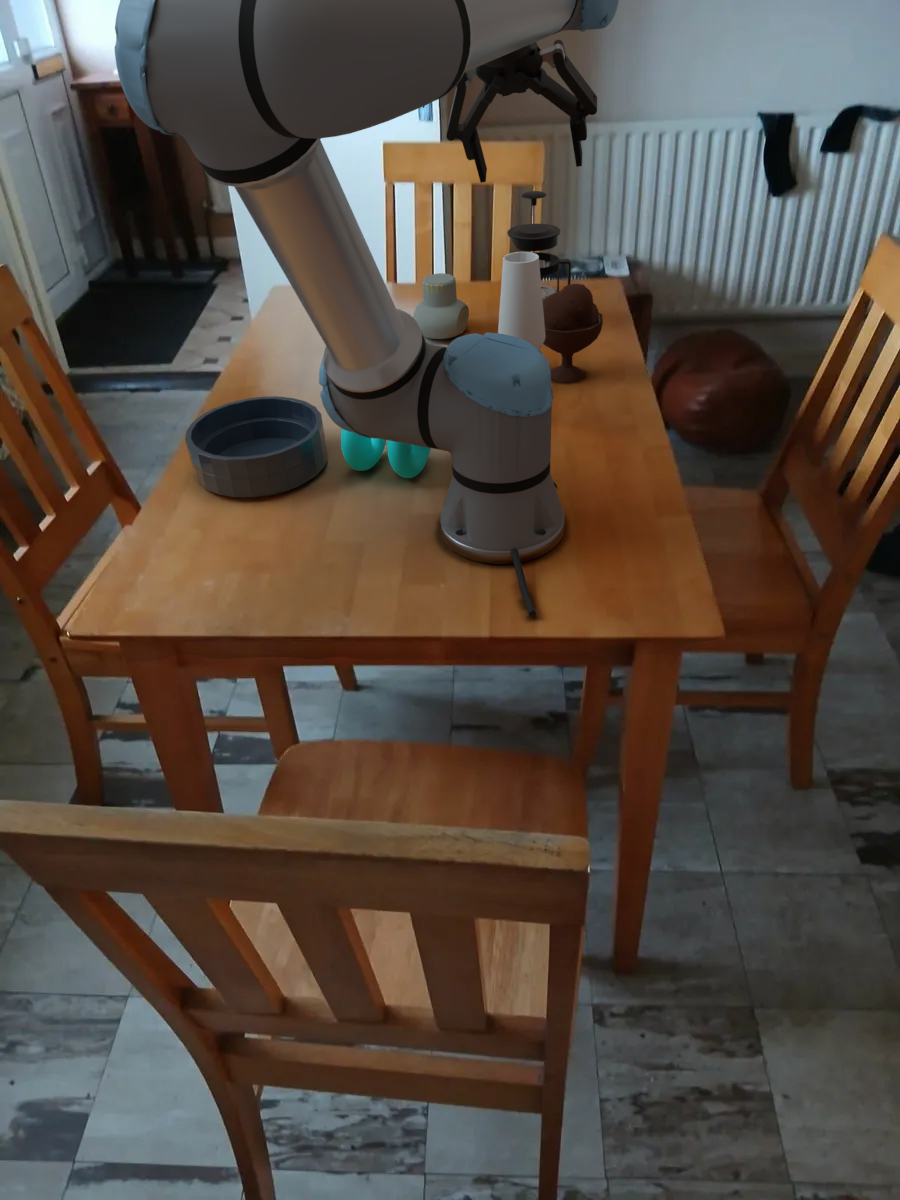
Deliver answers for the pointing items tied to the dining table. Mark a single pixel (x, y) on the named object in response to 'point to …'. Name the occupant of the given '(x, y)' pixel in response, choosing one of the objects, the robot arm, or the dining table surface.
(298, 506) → the dining table surface
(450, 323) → the air freshener
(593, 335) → the ice cream bowl
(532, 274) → the white tapered vase
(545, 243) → the french press
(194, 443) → the bowl
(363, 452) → the donuts
